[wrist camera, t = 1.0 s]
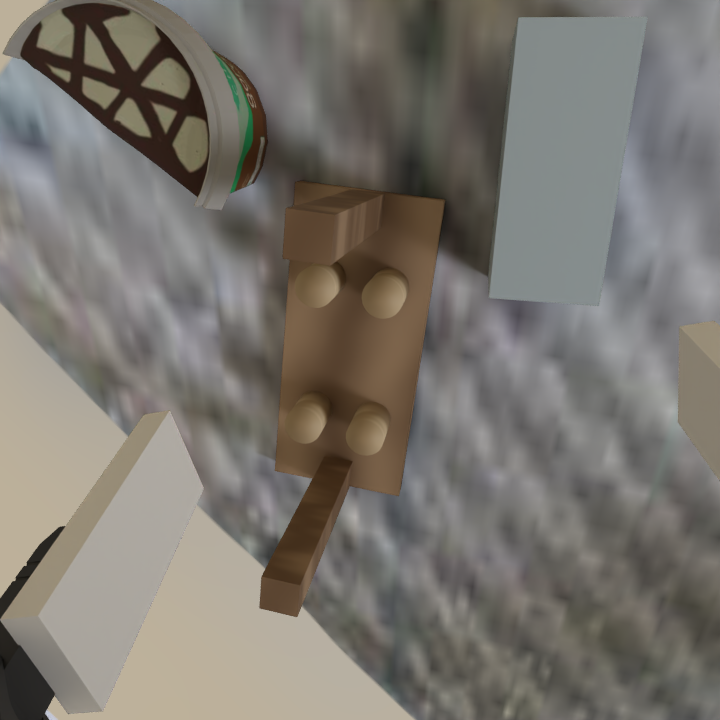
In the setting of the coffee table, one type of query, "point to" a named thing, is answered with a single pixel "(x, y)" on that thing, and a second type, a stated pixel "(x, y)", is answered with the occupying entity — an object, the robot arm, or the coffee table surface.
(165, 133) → the food container
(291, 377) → the peg stand
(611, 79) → the shelf board
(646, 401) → the coffee table surface
